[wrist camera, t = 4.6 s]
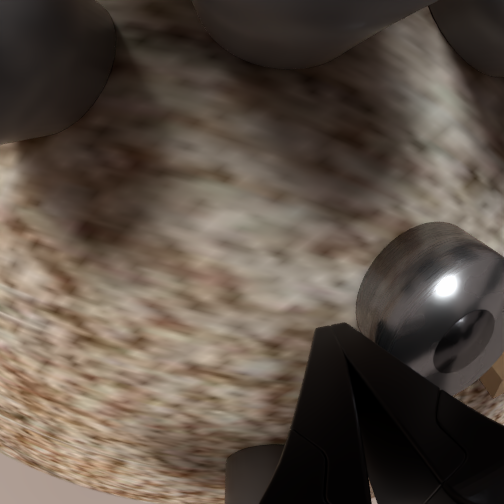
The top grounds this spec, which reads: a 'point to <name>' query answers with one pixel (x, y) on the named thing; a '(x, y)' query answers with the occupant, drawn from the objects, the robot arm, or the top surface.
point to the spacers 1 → (222, 31)
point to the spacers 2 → (250, 473)
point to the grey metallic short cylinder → (436, 304)
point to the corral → (494, 378)
